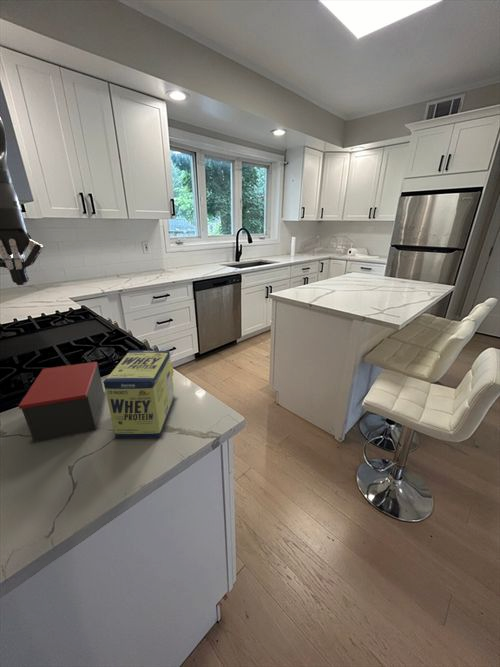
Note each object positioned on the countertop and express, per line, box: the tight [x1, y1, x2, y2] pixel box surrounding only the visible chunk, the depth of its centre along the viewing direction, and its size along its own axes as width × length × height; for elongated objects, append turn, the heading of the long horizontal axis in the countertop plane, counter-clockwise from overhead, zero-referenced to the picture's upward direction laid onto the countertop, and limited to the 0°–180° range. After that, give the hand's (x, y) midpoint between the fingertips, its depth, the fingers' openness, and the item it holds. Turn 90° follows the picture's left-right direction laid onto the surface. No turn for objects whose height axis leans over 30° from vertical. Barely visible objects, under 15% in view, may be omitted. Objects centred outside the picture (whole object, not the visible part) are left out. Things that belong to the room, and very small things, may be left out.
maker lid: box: [17, 361, 98, 410], centre depth 67 cm, size 16×13×1 cm
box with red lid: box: [21, 363, 105, 443], centre depth 69 cm, size 16×13×10 cm
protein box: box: [102, 350, 176, 439], centre depth 68 cm, size 10×16×16 cm
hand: (21, 284), depth 67 cm, fingers closed
